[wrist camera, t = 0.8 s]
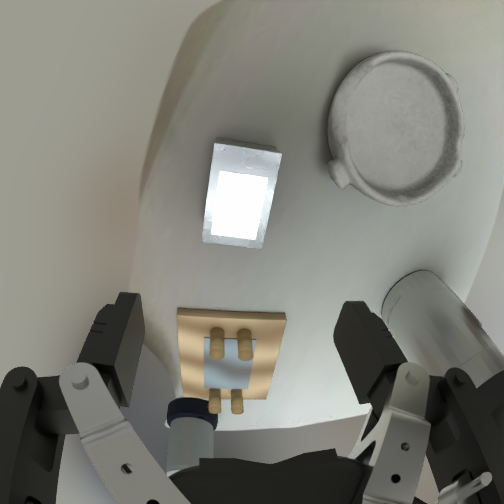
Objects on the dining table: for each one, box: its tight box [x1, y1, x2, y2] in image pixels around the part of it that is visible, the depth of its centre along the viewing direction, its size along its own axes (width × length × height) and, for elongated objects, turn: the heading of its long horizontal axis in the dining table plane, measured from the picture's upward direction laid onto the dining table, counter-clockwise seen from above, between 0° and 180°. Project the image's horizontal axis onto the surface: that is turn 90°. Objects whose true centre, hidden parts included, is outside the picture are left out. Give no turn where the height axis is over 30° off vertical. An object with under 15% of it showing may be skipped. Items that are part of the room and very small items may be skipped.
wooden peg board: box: [177, 308, 287, 414], centre depth 34 cm, size 16×12×5 cm
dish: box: [327, 51, 465, 206], centre depth 21 cm, size 14×14×5 cm
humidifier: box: [167, 398, 218, 477], centre depth 31 cm, size 8×8×25 cm
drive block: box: [201, 138, 282, 249], centre depth 24 cm, size 5×8×4 cm, turn 170°
